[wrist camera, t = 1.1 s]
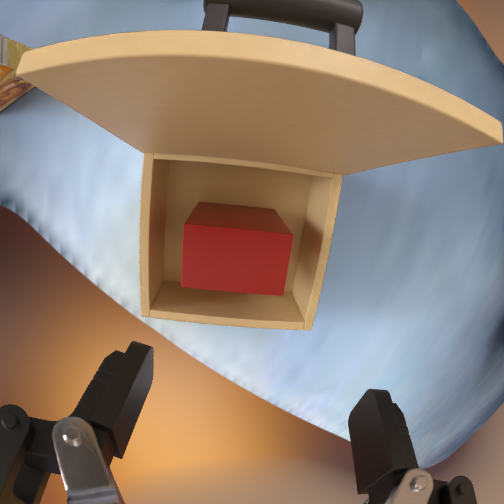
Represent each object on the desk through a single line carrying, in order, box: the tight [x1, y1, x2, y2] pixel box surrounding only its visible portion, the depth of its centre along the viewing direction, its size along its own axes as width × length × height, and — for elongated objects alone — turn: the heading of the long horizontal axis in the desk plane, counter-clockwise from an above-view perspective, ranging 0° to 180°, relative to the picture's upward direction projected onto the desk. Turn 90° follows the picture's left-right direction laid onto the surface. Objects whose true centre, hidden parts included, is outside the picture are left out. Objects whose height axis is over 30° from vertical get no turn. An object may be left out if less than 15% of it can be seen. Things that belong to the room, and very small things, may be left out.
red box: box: [181, 202, 294, 296], centre depth 24 cm, size 4×7×9 cm, turn 83°
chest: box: [139, 153, 343, 330], centre depth 25 cm, size 14×15×7 cm
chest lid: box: [16, 0, 503, 175], centre depth 12 cm, size 14×15×5 cm
